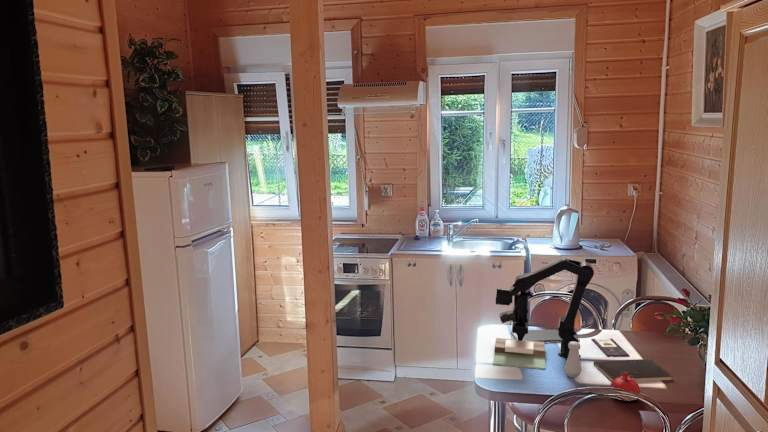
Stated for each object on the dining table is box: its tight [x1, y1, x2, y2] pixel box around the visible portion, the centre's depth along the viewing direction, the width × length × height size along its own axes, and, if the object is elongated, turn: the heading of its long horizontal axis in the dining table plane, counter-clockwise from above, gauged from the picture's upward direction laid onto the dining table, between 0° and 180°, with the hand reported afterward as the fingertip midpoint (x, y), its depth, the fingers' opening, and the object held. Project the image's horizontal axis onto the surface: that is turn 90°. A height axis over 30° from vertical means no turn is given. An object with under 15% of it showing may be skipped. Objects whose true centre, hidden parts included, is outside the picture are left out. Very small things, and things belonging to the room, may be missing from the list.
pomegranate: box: [609, 372, 642, 394], centre depth 204 cm, size 10×10×9 cm
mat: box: [492, 352, 546, 370], centre depth 236 cm, size 12×20×1 cm, turn 77°
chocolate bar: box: [591, 338, 630, 358], centre depth 249 cm, size 9×1×18 cm
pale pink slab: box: [505, 339, 533, 354], centre depth 240 cm, size 11×8×2 cm
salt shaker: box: [564, 341, 582, 379], centre depth 222 cm, size 6×6×13 cm
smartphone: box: [510, 328, 581, 343], centre depth 261 cm, size 13×27×2 cm, turn 94°
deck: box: [494, 337, 546, 358], centre depth 245 cm, size 10×20×3 cm, turn 77°
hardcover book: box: [593, 358, 673, 382], centre depth 225 cm, size 16×23×2 cm
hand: (519, 342), depth 245 cm, fingers closed
